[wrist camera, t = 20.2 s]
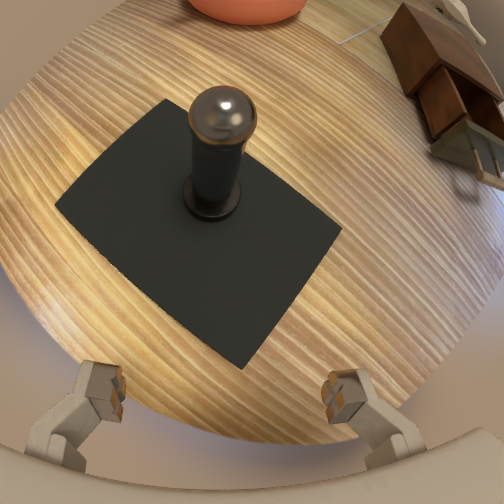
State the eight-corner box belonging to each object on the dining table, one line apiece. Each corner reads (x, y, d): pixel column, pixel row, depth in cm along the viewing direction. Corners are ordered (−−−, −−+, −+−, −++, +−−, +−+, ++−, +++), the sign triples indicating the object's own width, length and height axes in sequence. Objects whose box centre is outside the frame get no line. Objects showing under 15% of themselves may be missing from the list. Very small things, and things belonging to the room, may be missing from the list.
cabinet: (471, 126, 34) (504, 100, 26) (405, 96, 32) (439, 57, 24) (443, 66, 38) (467, 39, 29) (379, 36, 35) (402, 1, 27)
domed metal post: (238, 224, 23) (275, 139, 12) (180, 221, 22) (169, 130, 11) (240, 173, 24) (273, 71, 13) (186, 169, 23) (184, 63, 12)
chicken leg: (478, 51, 49) (495, 39, 43) (437, 3, 46) (454, -10, 40) (472, 49, 55) (487, 38, 48) (434, 5, 51) (449, -7, 45)
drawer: (498, 205, 30) (532, 189, 23) (439, 187, 28) (480, 161, 21) (465, 105, 34) (489, 84, 28) (404, 76, 32) (429, 46, 25)
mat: (339, 230, 25) (342, 228, 24) (241, 369, 21) (242, 370, 20) (166, 101, 25) (165, 97, 24) (56, 207, 21) (53, 204, 20)
